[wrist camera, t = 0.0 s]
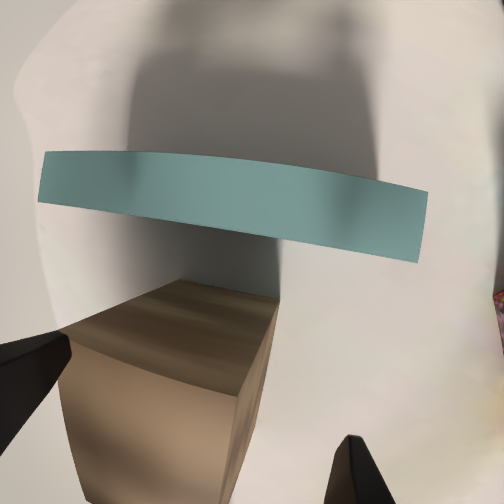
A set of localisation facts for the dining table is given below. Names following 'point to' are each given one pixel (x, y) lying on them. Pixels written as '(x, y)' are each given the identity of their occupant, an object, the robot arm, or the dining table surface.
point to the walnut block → (166, 393)
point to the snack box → (500, 313)
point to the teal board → (242, 198)
